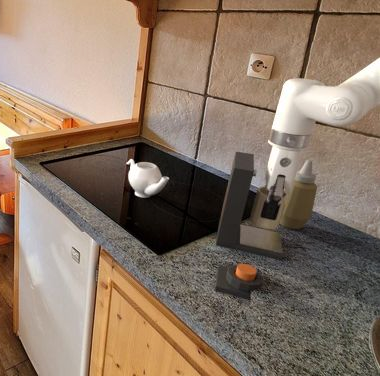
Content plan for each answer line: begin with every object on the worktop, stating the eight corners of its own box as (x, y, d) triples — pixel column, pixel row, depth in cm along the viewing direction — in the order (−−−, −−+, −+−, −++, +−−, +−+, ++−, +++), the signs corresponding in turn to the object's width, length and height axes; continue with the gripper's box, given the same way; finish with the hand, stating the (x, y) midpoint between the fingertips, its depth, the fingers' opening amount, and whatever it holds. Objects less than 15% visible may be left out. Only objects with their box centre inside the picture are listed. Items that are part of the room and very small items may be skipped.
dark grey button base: (268, 282, 84) (272, 270, 83) (269, 305, 78) (274, 293, 76) (217, 269, 88) (220, 257, 87) (214, 290, 81) (217, 278, 80)
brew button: (254, 273, 82) (256, 266, 82) (254, 283, 80) (256, 276, 79) (235, 268, 84) (237, 261, 83) (235, 278, 81) (236, 271, 80)
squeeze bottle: (313, 227, 106) (335, 163, 98) (295, 234, 102) (317, 168, 94) (283, 214, 112) (302, 152, 104) (265, 220, 108) (284, 157, 100)
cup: (277, 219, 97) (287, 189, 94) (279, 231, 92) (289, 200, 89) (249, 213, 99) (257, 184, 96) (249, 225, 94) (258, 194, 91)
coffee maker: (278, 235, 101) (301, 161, 93) (281, 260, 91) (307, 180, 83) (218, 222, 107) (235, 151, 98) (215, 245, 97) (233, 167, 88)
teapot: (137, 179, 131) (141, 152, 127) (176, 206, 114) (182, 176, 111) (111, 183, 128) (114, 155, 124) (148, 211, 111) (152, 181, 107)
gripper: (314, 153, 78) (288, 233, 86) (304, 130, 93) (282, 200, 100) (271, 147, 81) (249, 224, 89) (268, 125, 95) (249, 194, 103)
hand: (267, 211), depth 94 cm, fingers closed on cup, 6 cm apart
